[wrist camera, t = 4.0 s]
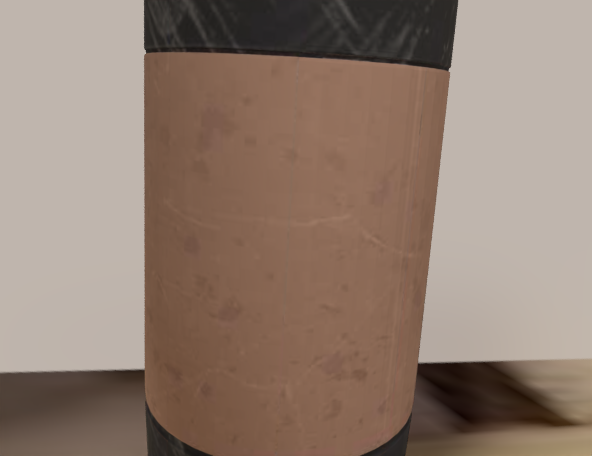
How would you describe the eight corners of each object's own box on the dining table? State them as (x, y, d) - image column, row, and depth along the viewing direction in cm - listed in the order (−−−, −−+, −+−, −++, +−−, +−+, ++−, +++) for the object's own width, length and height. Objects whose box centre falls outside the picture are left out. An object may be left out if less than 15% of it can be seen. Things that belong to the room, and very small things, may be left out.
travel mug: (342, 808, 14) (443, -105, 9) (94, 673, 16) (60, -79, 11) (405, 568, 20) (480, -14, 15) (223, 502, 23) (237, -12, 18)
